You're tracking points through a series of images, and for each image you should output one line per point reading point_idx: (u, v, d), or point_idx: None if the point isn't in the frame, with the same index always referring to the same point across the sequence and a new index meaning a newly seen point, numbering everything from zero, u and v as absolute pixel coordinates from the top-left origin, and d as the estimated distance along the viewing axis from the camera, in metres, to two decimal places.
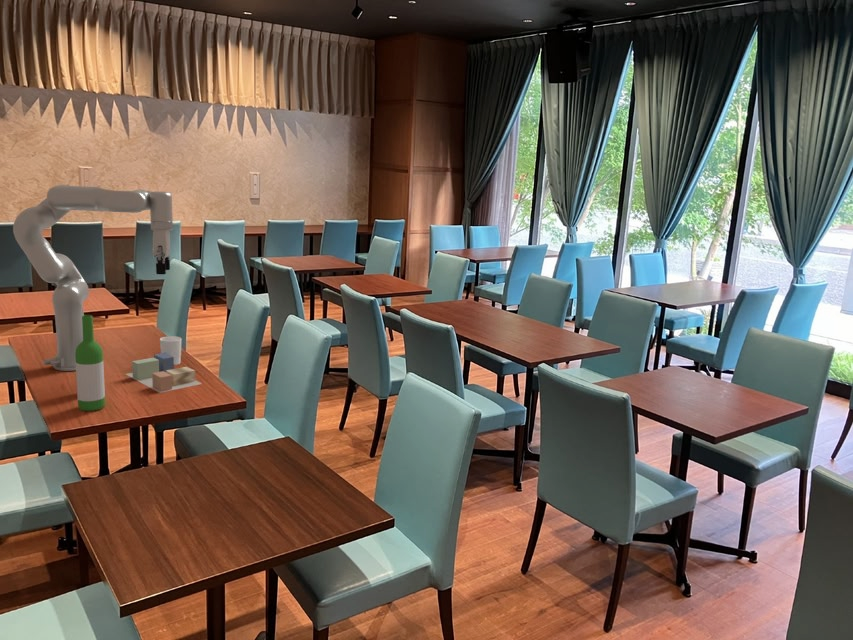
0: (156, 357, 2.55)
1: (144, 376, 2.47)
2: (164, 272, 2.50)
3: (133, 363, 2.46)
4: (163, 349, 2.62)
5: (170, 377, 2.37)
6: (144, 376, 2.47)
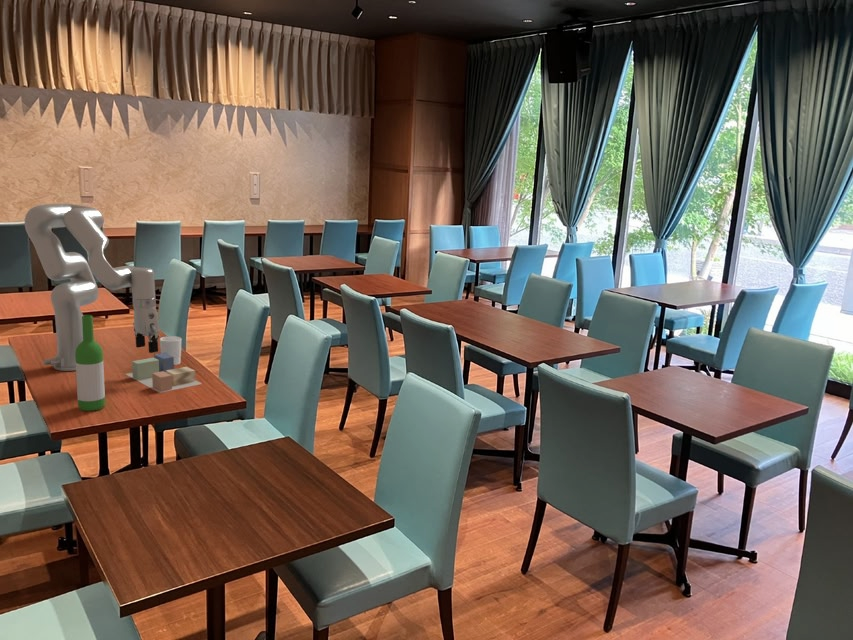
0: (156, 357, 2.55)
1: (144, 376, 2.47)
2: None
3: (133, 363, 2.46)
4: (163, 349, 2.62)
5: (170, 377, 2.37)
6: (144, 376, 2.47)
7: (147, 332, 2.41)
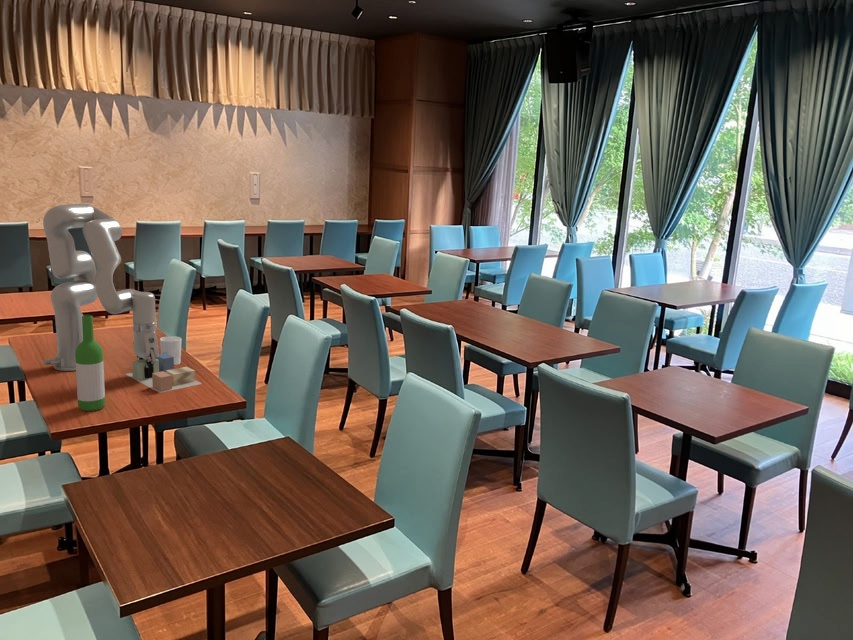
0: None
1: (144, 376, 2.47)
2: None
3: (133, 363, 2.46)
4: (163, 349, 2.62)
5: (170, 377, 2.37)
6: (144, 376, 2.47)
7: (146, 356, 2.43)
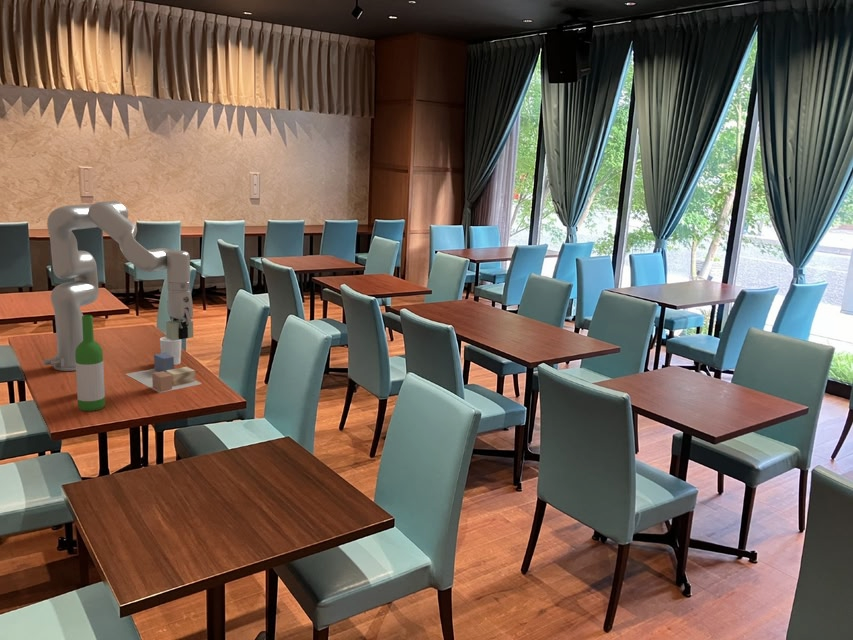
0: (156, 357, 2.55)
1: (178, 337, 2.40)
2: None
3: (167, 324, 2.40)
4: (163, 349, 2.62)
5: (170, 377, 2.37)
6: None
7: (181, 316, 2.37)
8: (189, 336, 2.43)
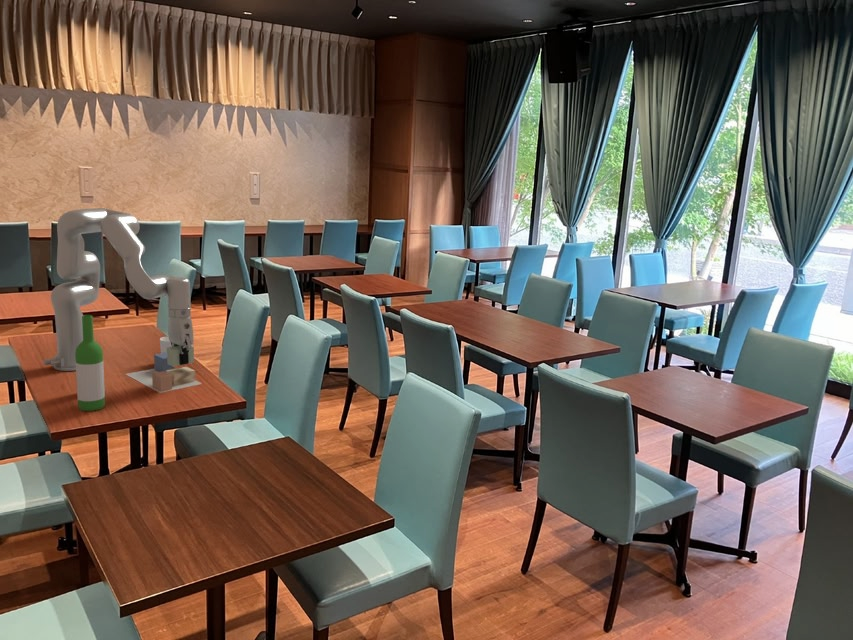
0: (156, 357, 2.55)
1: (179, 363, 2.42)
2: None
3: (168, 349, 2.42)
4: (163, 349, 2.62)
5: (170, 377, 2.37)
6: (179, 363, 2.43)
7: (182, 342, 2.39)
8: (190, 361, 2.46)
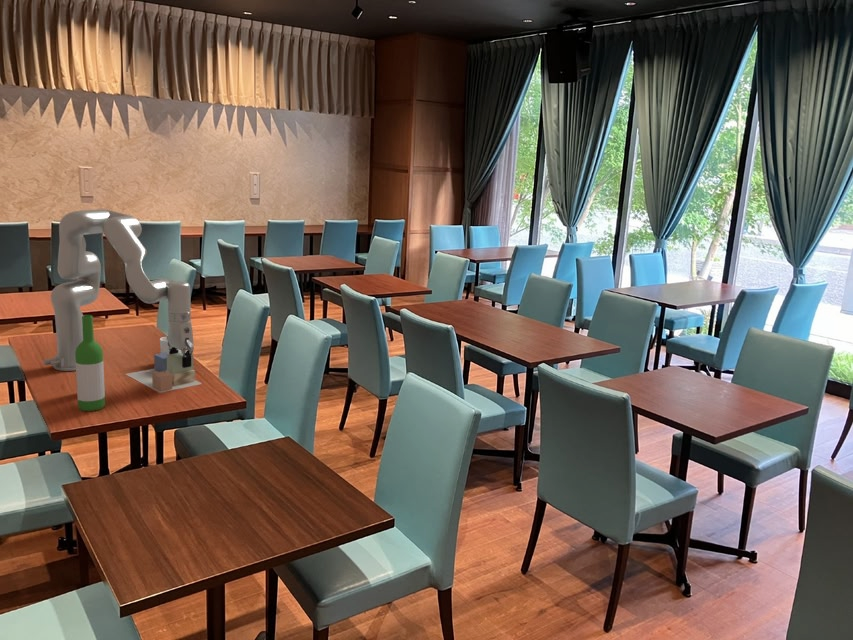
0: (156, 357, 2.55)
1: (179, 370, 2.43)
2: None
3: (168, 357, 2.42)
4: (163, 349, 2.62)
5: (170, 377, 2.37)
6: (179, 370, 2.43)
7: (182, 346, 2.39)
8: (189, 369, 2.46)
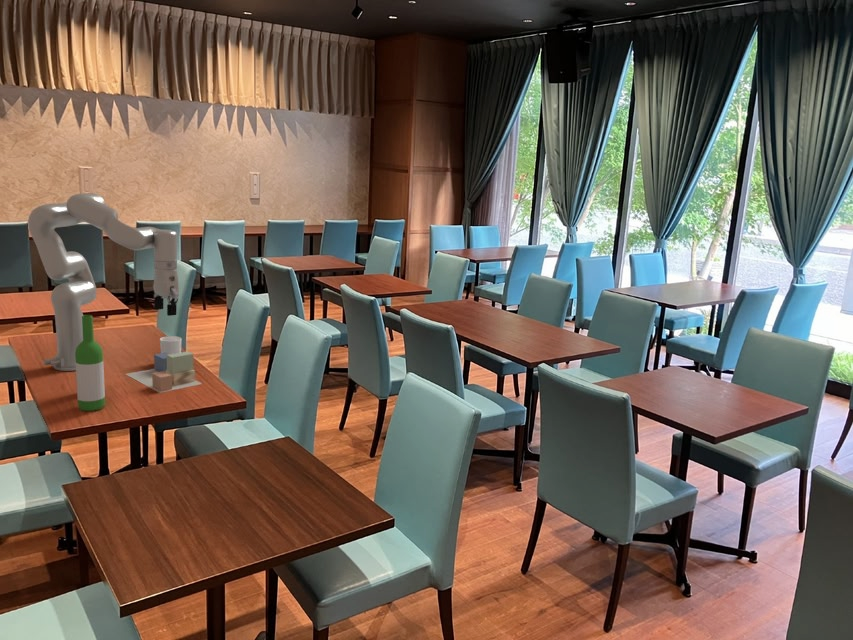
0: (156, 357, 2.55)
1: (179, 370, 2.43)
2: None
3: (168, 357, 2.42)
4: (163, 349, 2.62)
5: (170, 377, 2.37)
6: (179, 370, 2.43)
7: (167, 294, 2.40)
8: (189, 369, 2.46)
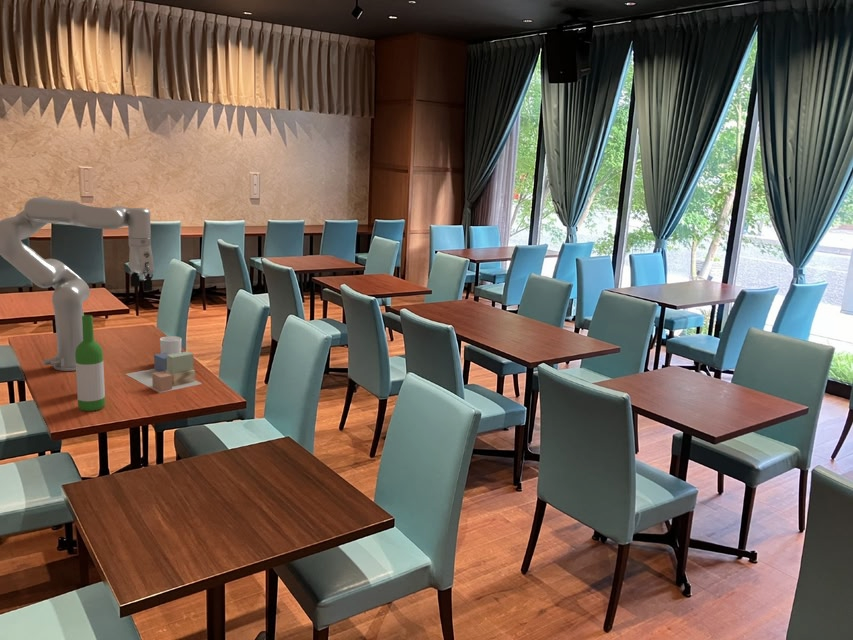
0: (156, 357, 2.55)
1: (179, 370, 2.43)
2: None
3: (168, 357, 2.42)
4: (163, 349, 2.62)
5: (170, 377, 2.37)
6: (179, 370, 2.43)
7: (142, 270, 2.48)
8: (189, 369, 2.46)
